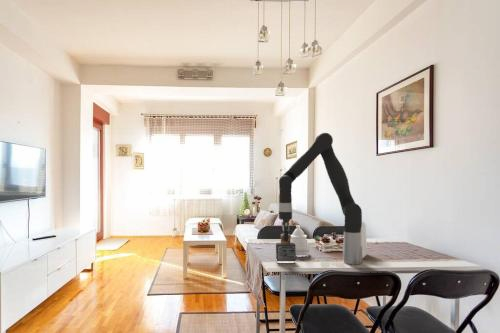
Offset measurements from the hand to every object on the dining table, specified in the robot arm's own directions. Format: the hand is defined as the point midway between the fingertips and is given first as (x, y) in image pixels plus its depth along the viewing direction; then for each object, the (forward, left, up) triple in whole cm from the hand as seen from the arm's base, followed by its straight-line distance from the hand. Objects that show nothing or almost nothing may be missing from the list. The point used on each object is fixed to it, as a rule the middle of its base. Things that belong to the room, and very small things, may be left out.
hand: (285, 239), depth 202 cm
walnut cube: (0, 0, -2) cm, 2 cm away
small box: (0, 0, -13) cm, 13 cm away
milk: (-43, -17, -13) cm, 48 cm away
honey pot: (-9, -18, -13) cm, 24 cm away
